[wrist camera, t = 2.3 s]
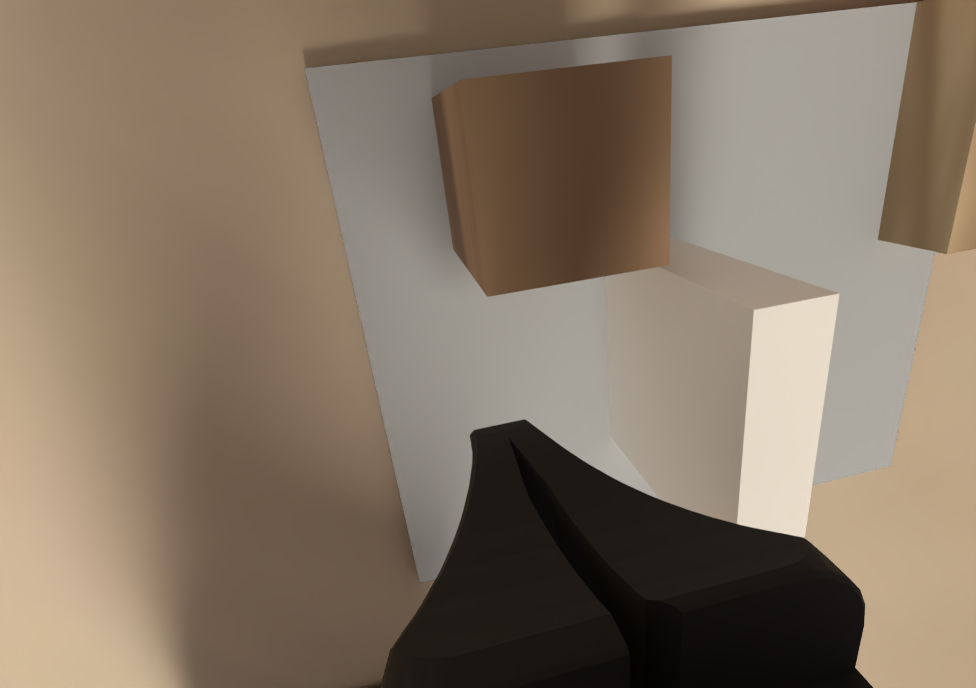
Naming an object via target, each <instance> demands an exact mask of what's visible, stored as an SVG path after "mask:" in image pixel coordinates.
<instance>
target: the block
mask: <svg viewBox="0 0 976 688" xmlns="http://www.w3.org/2000/svg"><path fill="white" fill-rule="evenodd" d="M671 94H672V55H669V56H660V57H651V58H643V59H634V60H625V61H617V62H608V63H600V64H591V65H582V66H574V67H565V68H556V69H548V70H539V71H530V72H522V73H513V74H504V75H496V76H487V77H479V78H470V79H461V80H459V81H458V82H456V83H454V84H453V85H451V86H450V87H448V88H447V89H445V90H444V91H442V92H441V93H439V94H438V95H436V96H434V97H433V98H431V99H432V106H433V113H434V119H435V126H436V133H437V140H438V147H439V154H440V161H441V168H442V175H443V182H444V189H445V196H446V202H447V209H448V216H449V223H450V230H451V237H452V244H453V250H454V251H455V253H456V254H457V255H458V257H459V258H460V259H461V261H462V262H463V264H464V265H465V266H466V268H467V269H468V271H469V272H470V273H471V275H472V276H473V278H474V279H475V280H476V282H477V283H478V285H479V286H480V287H481V289H482V290H483V292H484V293H485V294H486V296H487V297H490V296H496V295H502V294H507V293H513V292H519V291H525V290H530V289H536V288H542V287H547V286H553V285H559V284H564V283H570V282H576V281H581V280H587V279H593V278H599V277H604V276H610V275H616V274H621V273H627V272H633V271H638V270H644V269H650V268H656V267H661V266H667V265H669V240H670V167H671Z"/></svg>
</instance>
